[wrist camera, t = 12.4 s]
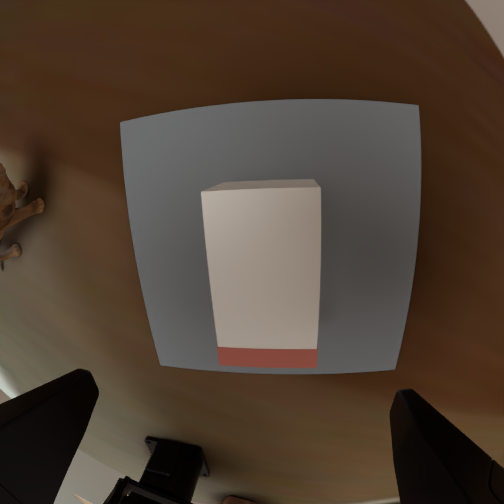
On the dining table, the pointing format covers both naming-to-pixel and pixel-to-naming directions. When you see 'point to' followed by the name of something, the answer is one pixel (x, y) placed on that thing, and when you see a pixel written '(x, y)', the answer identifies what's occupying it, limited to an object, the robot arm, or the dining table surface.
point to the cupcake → (236, 501)
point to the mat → (280, 168)
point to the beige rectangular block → (264, 271)
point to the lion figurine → (14, 209)
